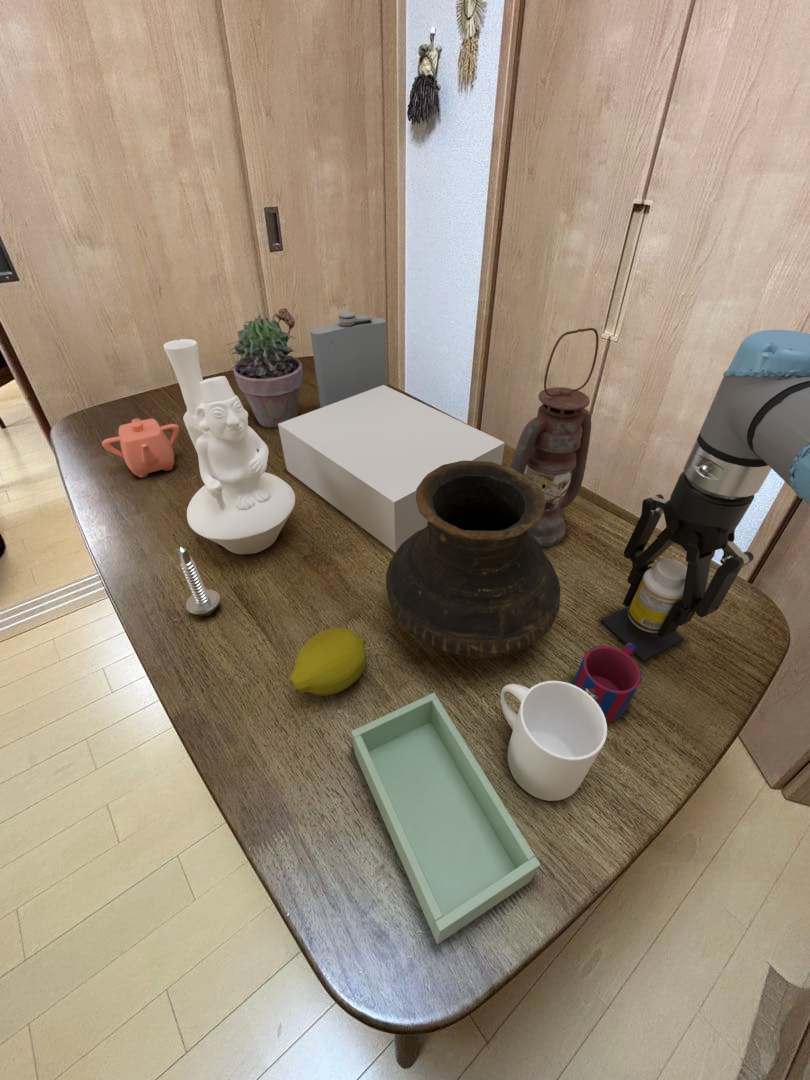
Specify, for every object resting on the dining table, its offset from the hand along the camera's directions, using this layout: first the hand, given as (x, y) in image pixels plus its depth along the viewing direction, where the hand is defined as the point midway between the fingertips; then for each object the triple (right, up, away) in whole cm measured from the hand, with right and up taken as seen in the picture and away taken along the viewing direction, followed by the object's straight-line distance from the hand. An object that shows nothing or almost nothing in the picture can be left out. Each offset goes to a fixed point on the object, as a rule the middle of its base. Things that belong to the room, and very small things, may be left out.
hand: (648, 616), depth 68 cm
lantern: (-11, +13, +20) cm, 26 cm away
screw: (-65, 0, +5) cm, 65 cm away
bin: (-31, -19, -16) cm, 40 cm away
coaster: (0, -2, +2) cm, 3 cm away
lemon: (-44, -8, -4) cm, 45 cm away
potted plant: (-67, +41, +52) cm, 94 cm away
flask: (-47, +41, +52) cm, 81 cm away
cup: (-8, -9, -5) cm, 13 cm away
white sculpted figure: (-63, +12, +19) cm, 67 cm away
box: (-38, +23, +32) cm, 54 cm away
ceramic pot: (-25, -1, +4) cm, 25 cm away
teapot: (-89, +27, +36) cm, 99 cm away
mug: (-20, -14, -11) cm, 27 cm away
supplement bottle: (0, -1, 0) cm, 1 cm away
